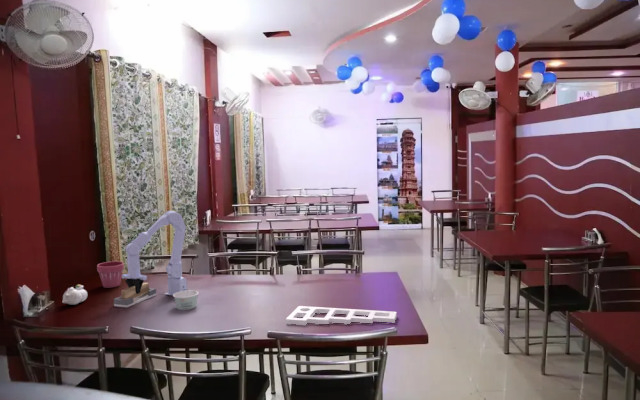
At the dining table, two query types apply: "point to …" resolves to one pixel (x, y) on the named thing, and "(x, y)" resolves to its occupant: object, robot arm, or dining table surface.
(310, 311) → the holder
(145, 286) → the oak slat
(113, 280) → the plant pot
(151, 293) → the cradle
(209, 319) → the dining table surface
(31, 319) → the dining table surface
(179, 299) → the food container
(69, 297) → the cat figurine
